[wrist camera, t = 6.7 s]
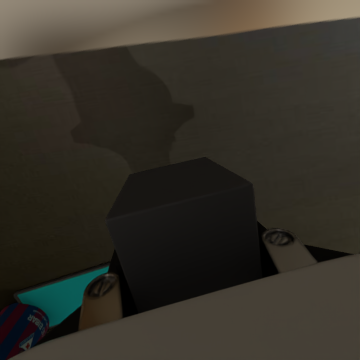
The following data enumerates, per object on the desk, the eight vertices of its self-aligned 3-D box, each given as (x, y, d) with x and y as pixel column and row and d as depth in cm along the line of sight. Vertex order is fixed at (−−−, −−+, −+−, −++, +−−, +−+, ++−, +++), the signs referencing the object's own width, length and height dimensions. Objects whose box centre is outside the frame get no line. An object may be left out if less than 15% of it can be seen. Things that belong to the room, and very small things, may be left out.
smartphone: (12, 294, 25) (121, 260, 26) (16, 289, 26) (122, 256, 27) (38, 332, 27) (139, 300, 28) (41, 326, 28) (139, 295, 29)
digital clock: (129, 174, 11) (103, 220, 5) (205, 156, 11) (254, 183, 6) (162, 287, 13) (168, 398, 8) (224, 269, 13) (272, 365, 8)
